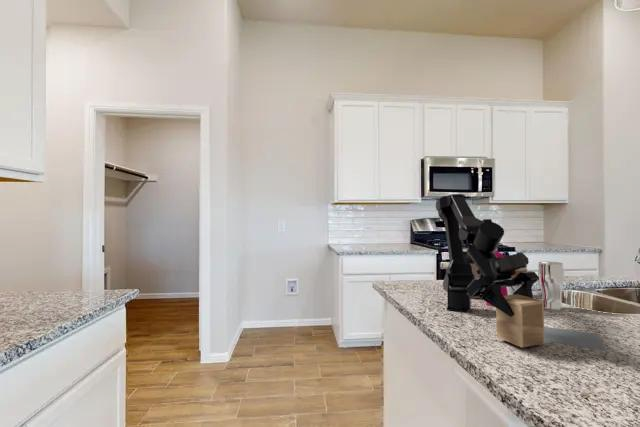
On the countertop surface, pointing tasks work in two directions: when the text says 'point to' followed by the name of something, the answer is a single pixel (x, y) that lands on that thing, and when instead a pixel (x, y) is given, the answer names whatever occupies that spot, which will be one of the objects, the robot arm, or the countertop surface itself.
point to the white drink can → (551, 284)
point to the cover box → (522, 321)
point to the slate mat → (573, 338)
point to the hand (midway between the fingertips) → (524, 314)
